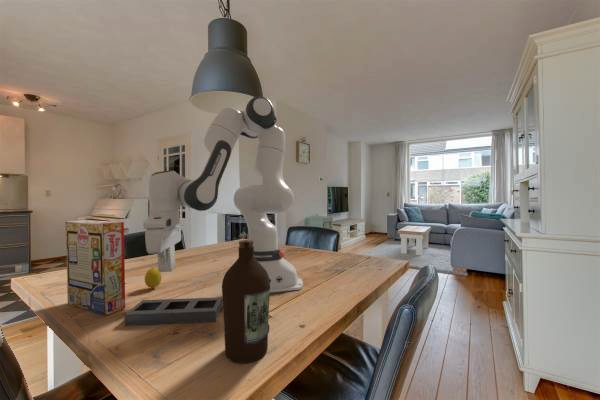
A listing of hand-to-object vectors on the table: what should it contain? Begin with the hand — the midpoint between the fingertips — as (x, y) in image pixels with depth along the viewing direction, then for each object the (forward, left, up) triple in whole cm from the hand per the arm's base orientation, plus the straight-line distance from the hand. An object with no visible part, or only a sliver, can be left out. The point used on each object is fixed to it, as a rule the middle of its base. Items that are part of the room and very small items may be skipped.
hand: (166, 260), depth 90 cm
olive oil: (-29, +32, -14) cm, 46 cm away
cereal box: (+21, +3, -14) cm, 25 cm away
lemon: (+10, -12, -14) cm, 20 cm away
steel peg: (0, 0, -3) cm, 3 cm away
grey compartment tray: (-7, +12, -13) cm, 19 cm away
